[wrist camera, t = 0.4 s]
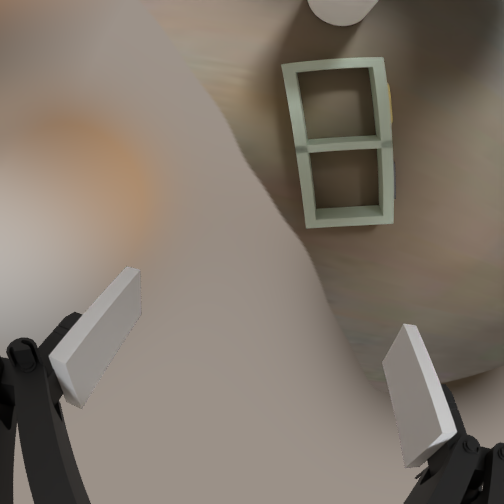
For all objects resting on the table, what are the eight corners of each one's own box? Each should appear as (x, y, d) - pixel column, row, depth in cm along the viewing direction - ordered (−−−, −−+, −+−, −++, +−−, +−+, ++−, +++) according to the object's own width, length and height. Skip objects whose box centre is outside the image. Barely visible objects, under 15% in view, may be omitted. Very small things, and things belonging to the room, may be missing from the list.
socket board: (380, 58, 26) (386, 57, 23) (390, 212, 35) (395, 223, 32) (284, 65, 28) (281, 64, 26) (307, 216, 37) (305, 228, 35)
